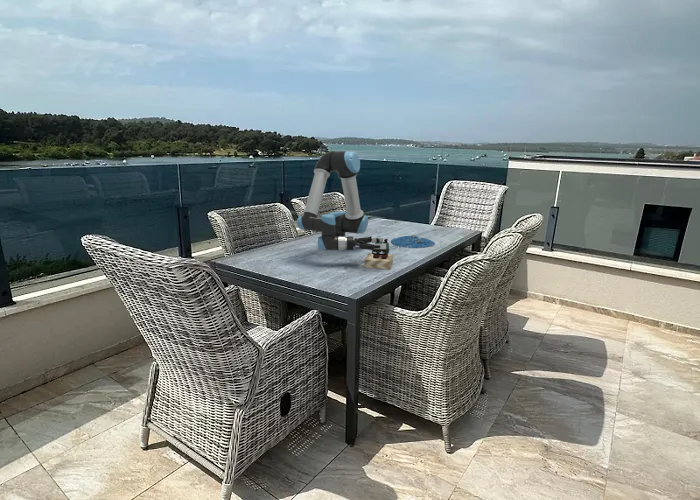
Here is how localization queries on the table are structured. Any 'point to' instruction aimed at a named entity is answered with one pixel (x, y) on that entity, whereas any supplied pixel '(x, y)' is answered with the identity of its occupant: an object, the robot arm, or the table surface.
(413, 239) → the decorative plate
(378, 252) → the binoculars
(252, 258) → the table surface
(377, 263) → the birch block
